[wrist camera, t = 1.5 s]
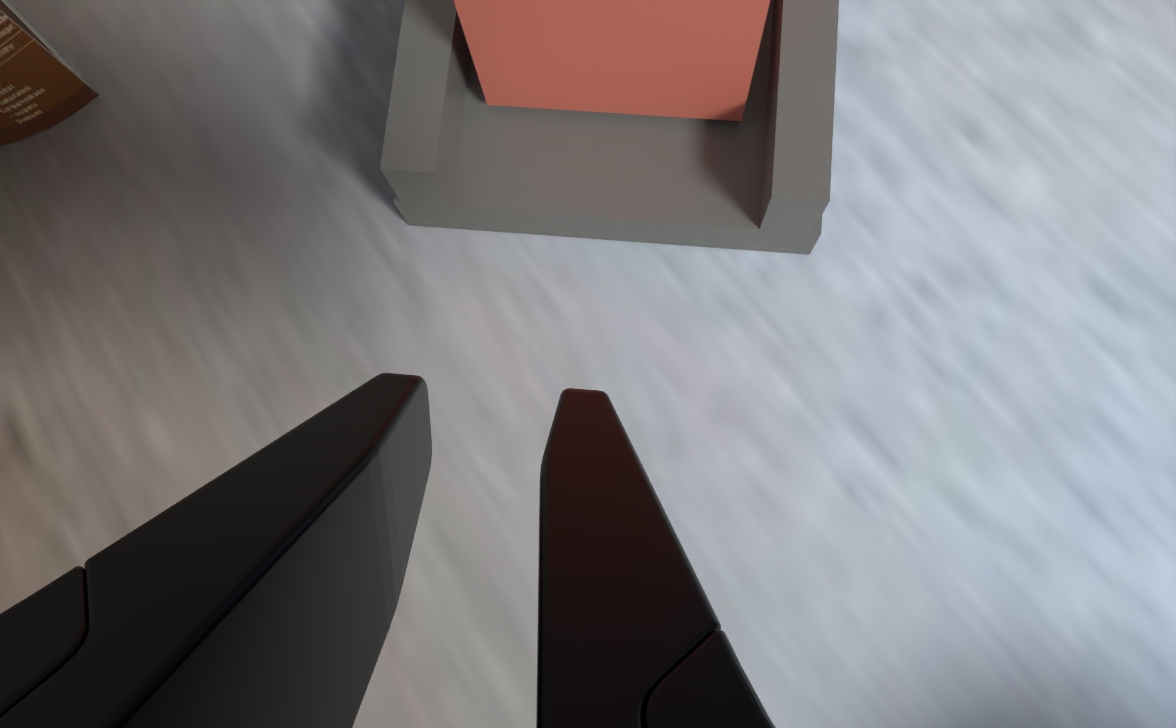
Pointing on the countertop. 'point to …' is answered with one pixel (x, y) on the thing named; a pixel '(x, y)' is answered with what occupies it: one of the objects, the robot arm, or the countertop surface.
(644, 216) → the grey slotted holder tray
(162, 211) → the countertop surface
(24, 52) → the food container
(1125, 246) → the countertop surface
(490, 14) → the red plug
